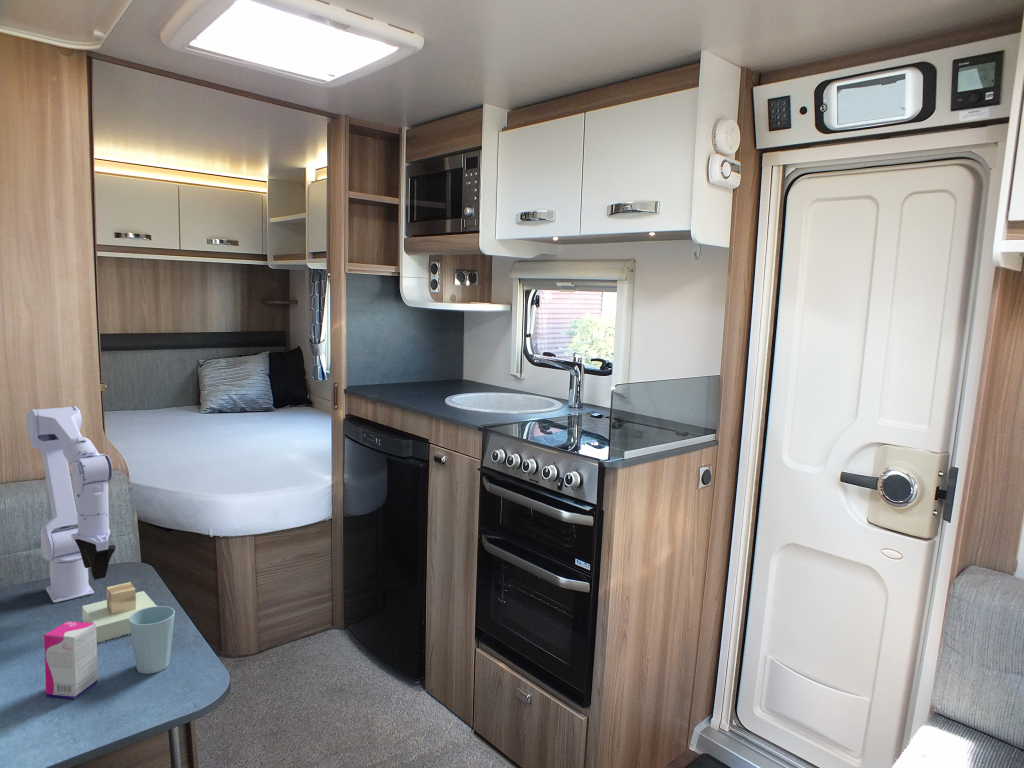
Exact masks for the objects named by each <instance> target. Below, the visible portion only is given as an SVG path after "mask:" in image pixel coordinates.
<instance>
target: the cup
mask: <svg viewBox="0 0 1024 768" xmlns="http://www.w3.org/2000/svg"><path fill="white" fill-rule="evenodd" d="M175 615H176V611H175V609H174V608H172V607H170V606H165V605H156V606H154V607H148V608H144V609H141V610H139V611H137V612H135V613H133V614H132V615H131V616H130V618H129V623H130V629H131V634H130V635H131V640H132V647H133V653H134V659H135V665H136V671H137V672H138V673H140V674H143V675H144V674H145V675H151V674H156V673H159V672H162V671H164V670H165V669H167V667H169V665H170V658H171V651H172V643H173V642H172V640H173V631H174V623H175Z"/></svg>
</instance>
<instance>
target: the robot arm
mask: <svg viewBox="0 0 1024 768" xmlns="http://www.w3.org/2000/svg"><path fill="white" fill-rule="evenodd" d="M81 413H82V412H81V411H80V409H79V407H77V406H76V405H72V406H66V407H64V406H63V407H54V408H53V407H52V408H39V409H36V408H35V409H34V408H32V409H29V411H28V412H27V413H26V417H25V418H26V423H25V424H26V431H27V436H28V441H29V443H30V447H32V448H35V449H39V452H40V456H41V458H42V463H43V470H44V475H45V480H46V486H47V491H48V492H47V493H48V497H49V504H50V509H51V515H52V516H51V517H52V518H50V520H48V522H47V521H46V523H45V524H44V525H43V526H42V527H41V530H40V550H41V554H42V556H43V558H44V559H45V560H47V561H50V564H49V573H50V574H49V575H50V586H47V587H45V591H46V592H47V594H48V595H49V597H50V599H51V601H52V603H59V602H64V601H67V600H73V599H77V598H80V597H85V596H89V595H93V594H94V592H95V590H93V588H92V587H91V585H90V584H89V568H90V572H91V575H92V579H93V580H94V581H96V580H102V579H105V578H106V576H107V573H108V569H109V564H110V561H111V559H112V556H113V554H114V553H115V551H116V546H115V545H114V544H110V545H109V537H110V535H111V528H110V511H109V508H110V507H109V503H110V502H109V483H108V482H111V481H112V478H113V473H114V470H113V464H112V463H113V462H112V461H111V459H110V457H109V455H108V454H104V453H100V452H99V451H98V449H97V447H96V446H95V445H94V444H93V442H92V441H91V439H89V438H88V437H85V436H83V435H82V434H81V432H80V430H81V428H82V423H83V422H82V421H83V420H82V418H83V417H82V414H81ZM69 466H70V468H71V471H70V469H69ZM71 477H72V478H71ZM71 479H72V480H71ZM72 483H73V485H72ZM74 492H75V493H76V501H75V496H74Z"/></svg>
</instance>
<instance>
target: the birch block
mask: <svg viewBox="0 0 1024 768" xmlns="http://www.w3.org/2000/svg"><path fill="white" fill-rule="evenodd" d="M136 593H137V592H136V588H135V586H134V585H133V584H132V582H131V581H129V582H126V583H125V582H124V583H119V584H115V585H110V586H106V600H107V608H108V609H109V611H110V612H111V614H112V615H114V614H118V613H122V612H126V611H130V610H134V609H136Z"/></svg>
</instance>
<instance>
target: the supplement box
mask: <svg viewBox="0 0 1024 768" xmlns="http://www.w3.org/2000/svg"><path fill="white" fill-rule="evenodd" d="M43 644H44V645H43V646H44V669H45V670H44V671H45V673H44V675H45V696H46V698H47V697H48V698H56V699H58V698H59V699H69V700H77V699H78V698H79V697H81V696H82V695H83V694H84V693H86V692H87V691H89V690H90V689H91V688H92V687H93V686H95V685H96V684H97V683H98V682H99V680H98V679H99V677H98V676H99V675H98V674H99V673H98V651H97V650H98V645H97V644H98V643H97V640H96V623H84V622H83V621H82V622H81V621H73V620H72V621H69V620H68V621H66V622H64V623H62V624H61V625H58V627H56V628H54V629H52V630H50V631H49V632H47V633H46V634H44V635H43Z"/></svg>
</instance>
